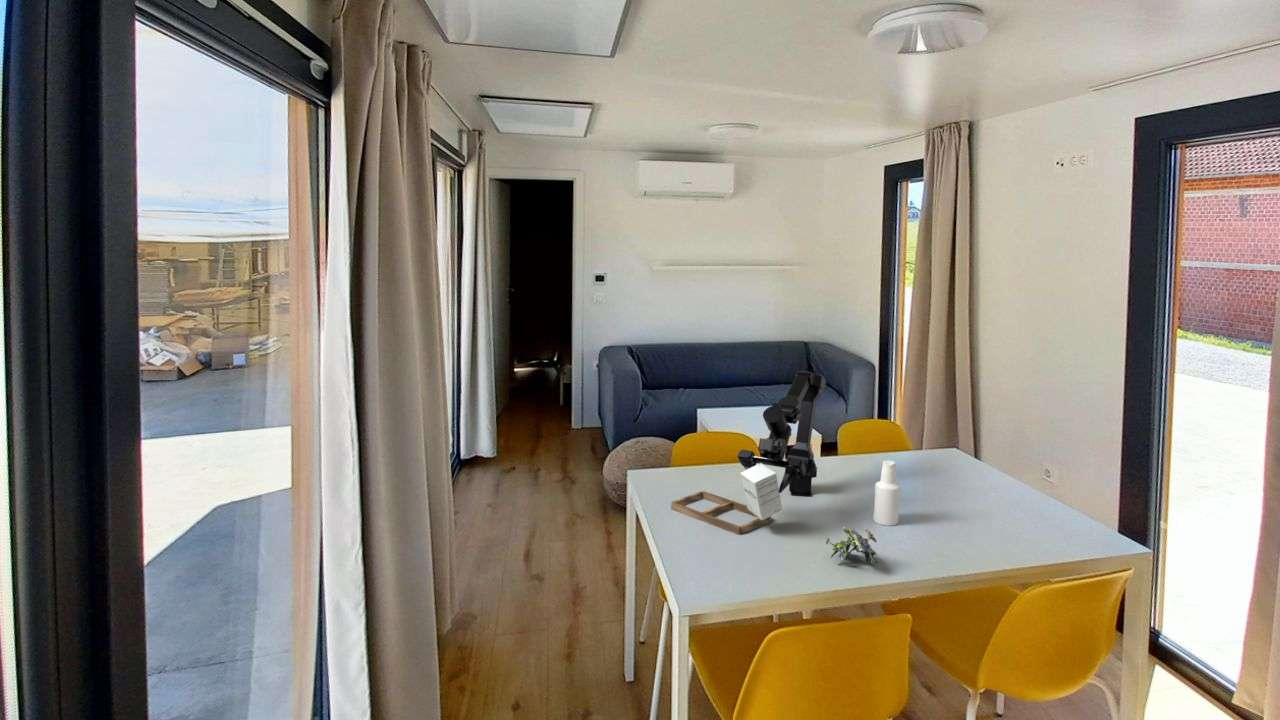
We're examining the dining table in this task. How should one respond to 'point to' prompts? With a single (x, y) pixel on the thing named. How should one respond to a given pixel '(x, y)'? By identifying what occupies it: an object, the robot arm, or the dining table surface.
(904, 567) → the dining table surface
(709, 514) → the wooden compartment frame
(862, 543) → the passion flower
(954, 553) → the dining table surface
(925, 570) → the dining table surface
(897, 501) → the spray bottle
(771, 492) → the supplement box
